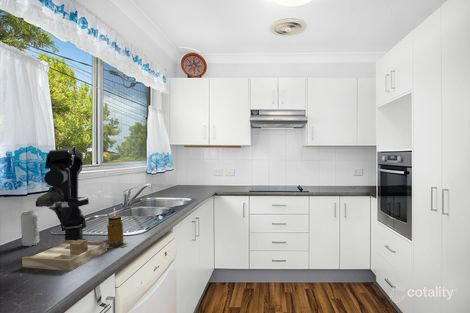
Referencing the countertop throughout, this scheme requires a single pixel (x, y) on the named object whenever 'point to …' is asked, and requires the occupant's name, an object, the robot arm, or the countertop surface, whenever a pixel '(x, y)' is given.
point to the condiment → (115, 232)
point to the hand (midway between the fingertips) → (63, 224)
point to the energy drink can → (29, 228)
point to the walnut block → (78, 247)
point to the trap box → (63, 256)
